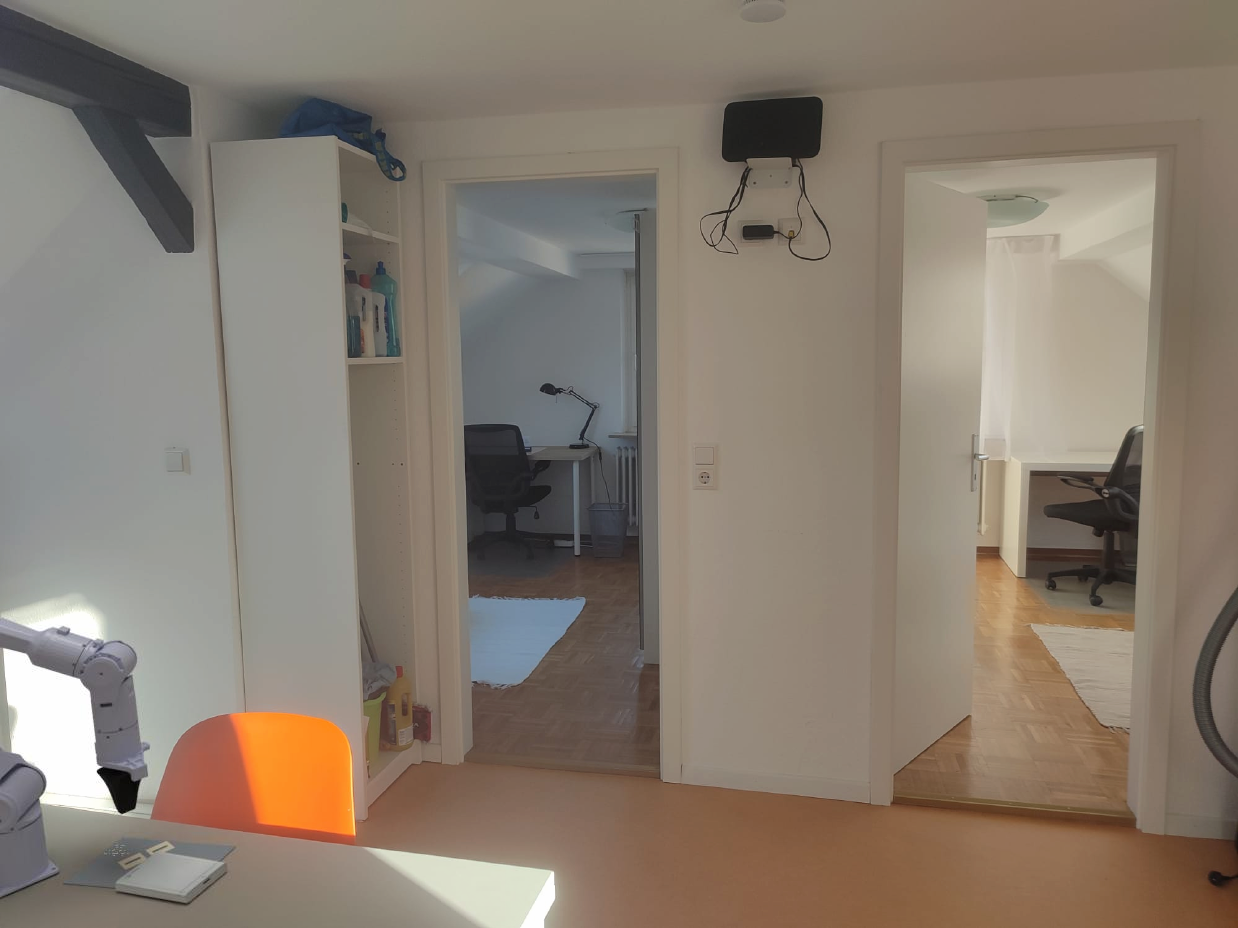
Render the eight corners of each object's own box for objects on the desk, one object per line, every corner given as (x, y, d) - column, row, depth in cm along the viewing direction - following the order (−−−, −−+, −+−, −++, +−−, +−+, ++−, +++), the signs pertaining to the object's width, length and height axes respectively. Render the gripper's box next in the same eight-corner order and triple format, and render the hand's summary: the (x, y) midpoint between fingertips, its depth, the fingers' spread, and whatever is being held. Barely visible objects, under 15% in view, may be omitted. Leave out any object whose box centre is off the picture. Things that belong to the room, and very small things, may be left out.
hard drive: (114, 881, 126) (185, 893, 123) (158, 849, 134) (226, 860, 130) (115, 892, 126) (186, 904, 123) (160, 859, 134) (227, 870, 131)
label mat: (63, 883, 129) (63, 882, 129) (122, 837, 141) (122, 836, 141) (185, 894, 125) (185, 893, 125) (235, 846, 137) (235, 845, 137)
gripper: (165, 727, 129) (174, 813, 131) (125, 704, 138) (135, 784, 140) (113, 745, 124) (124, 835, 126) (75, 719, 133) (86, 803, 135)
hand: (126, 810), depth 133 cm, fingers closed
